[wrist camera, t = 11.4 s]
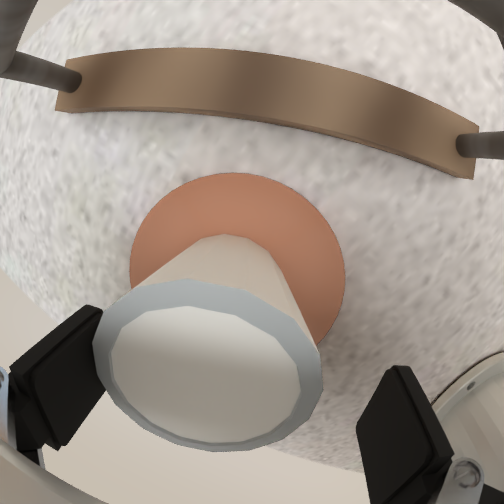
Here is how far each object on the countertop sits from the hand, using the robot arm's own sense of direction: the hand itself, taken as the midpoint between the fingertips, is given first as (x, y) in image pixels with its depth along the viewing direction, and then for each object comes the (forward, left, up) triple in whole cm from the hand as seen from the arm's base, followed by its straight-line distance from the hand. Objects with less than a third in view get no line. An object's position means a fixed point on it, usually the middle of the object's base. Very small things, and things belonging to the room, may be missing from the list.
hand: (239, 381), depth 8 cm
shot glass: (+1, +1, -6) cm, 6 cm away
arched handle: (+7, -7, -7) cm, 12 cm away
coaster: (+1, 0, -7) cm, 7 cm away
